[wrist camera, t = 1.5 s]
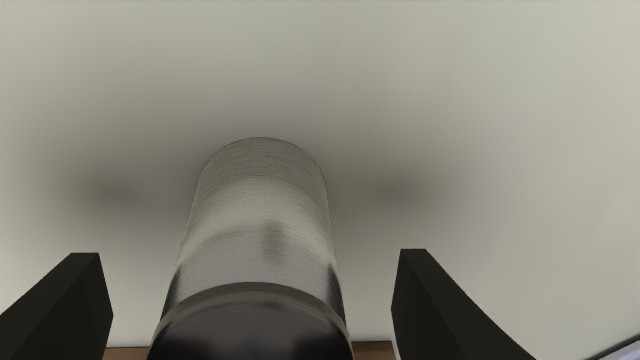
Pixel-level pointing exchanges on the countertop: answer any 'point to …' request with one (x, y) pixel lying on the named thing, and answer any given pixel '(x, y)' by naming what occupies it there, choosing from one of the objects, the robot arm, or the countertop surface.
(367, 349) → the walnut tray
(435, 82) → the countertop surface
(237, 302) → the steel shaker
